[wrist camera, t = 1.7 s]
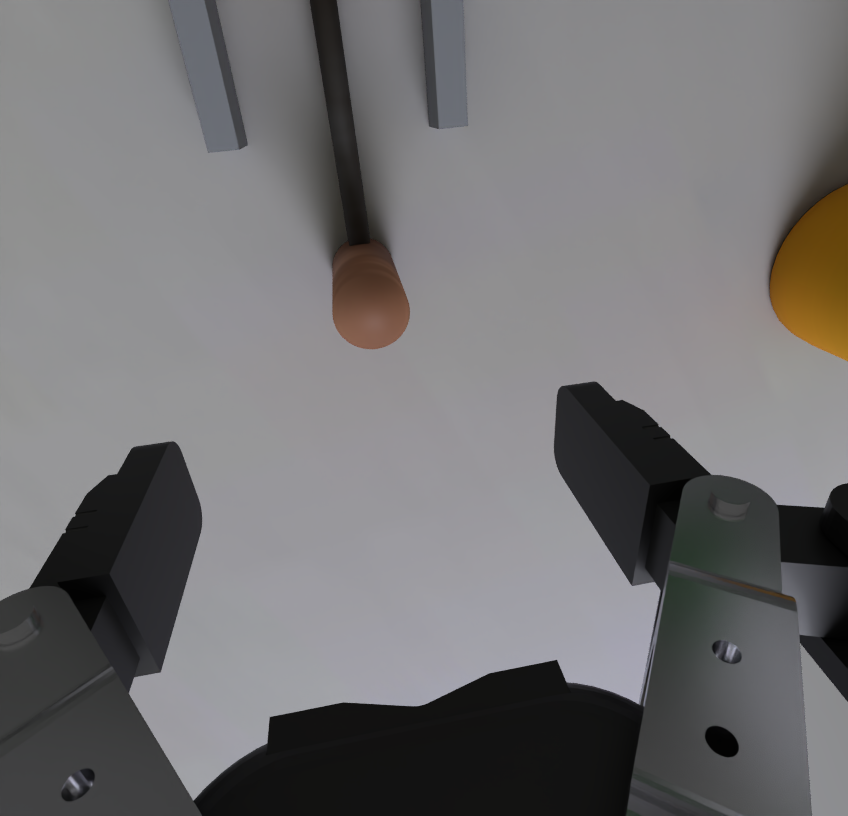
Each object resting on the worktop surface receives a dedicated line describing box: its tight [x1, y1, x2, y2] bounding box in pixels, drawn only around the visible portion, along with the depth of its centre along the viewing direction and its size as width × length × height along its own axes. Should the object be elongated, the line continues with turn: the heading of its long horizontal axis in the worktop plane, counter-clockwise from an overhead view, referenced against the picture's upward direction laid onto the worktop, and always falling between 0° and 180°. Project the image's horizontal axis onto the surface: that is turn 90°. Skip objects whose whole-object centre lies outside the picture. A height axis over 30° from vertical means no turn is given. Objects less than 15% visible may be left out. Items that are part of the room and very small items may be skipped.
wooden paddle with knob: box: [310, 0, 410, 349], centre depth 19 cm, size 6×23×7 cm, turn 5°
